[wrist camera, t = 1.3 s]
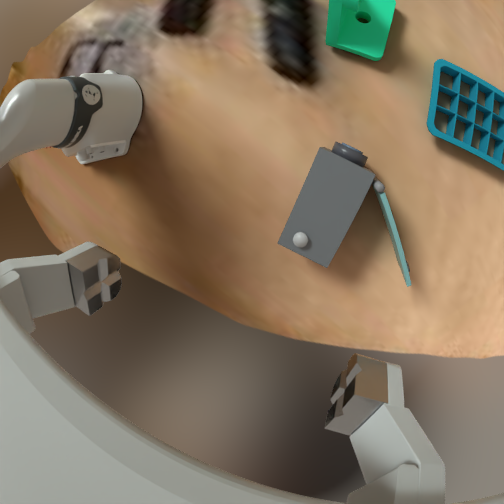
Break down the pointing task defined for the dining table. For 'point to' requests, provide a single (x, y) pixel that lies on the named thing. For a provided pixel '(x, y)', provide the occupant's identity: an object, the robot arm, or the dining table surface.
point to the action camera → (327, 203)
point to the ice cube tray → (475, 84)
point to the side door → (392, 229)
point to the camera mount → (360, 26)
